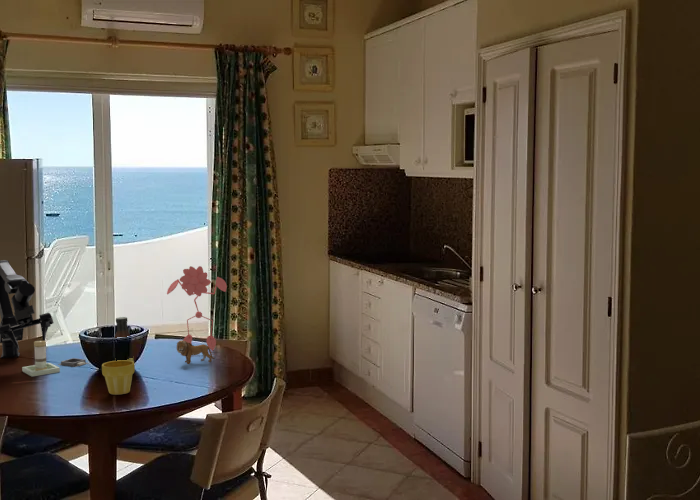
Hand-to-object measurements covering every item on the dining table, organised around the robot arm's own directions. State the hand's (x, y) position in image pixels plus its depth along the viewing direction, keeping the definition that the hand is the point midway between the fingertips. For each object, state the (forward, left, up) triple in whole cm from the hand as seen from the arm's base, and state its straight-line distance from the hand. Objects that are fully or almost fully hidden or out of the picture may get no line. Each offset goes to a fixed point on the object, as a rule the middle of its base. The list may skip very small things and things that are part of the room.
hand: (31, 345), depth 299 cm
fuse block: (0, +14, -9) cm, 17 cm away
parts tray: (+8, +3, -9) cm, 12 cm away
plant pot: (+44, +29, -9) cm, 53 cm away
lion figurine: (+11, +58, -9) cm, 60 cm away
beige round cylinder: (+8, +3, -8) cm, 12 cm away
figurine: (-7, +61, -9) cm, 62 cm away
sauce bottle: (+16, +32, -9) cm, 37 cm away
